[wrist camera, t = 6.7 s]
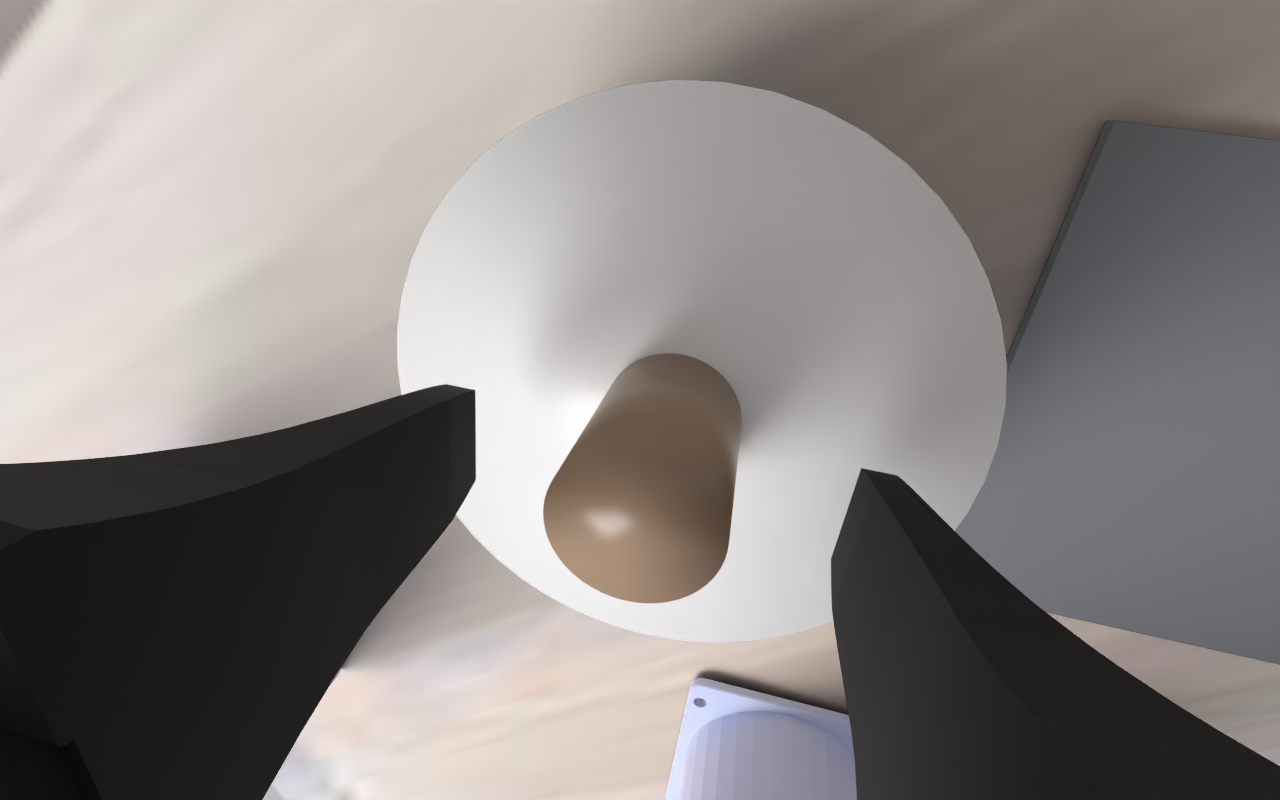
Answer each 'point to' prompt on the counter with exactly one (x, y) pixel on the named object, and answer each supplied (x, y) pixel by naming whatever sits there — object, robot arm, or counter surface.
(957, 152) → the counter surface
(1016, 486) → the mat
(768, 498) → the lid
